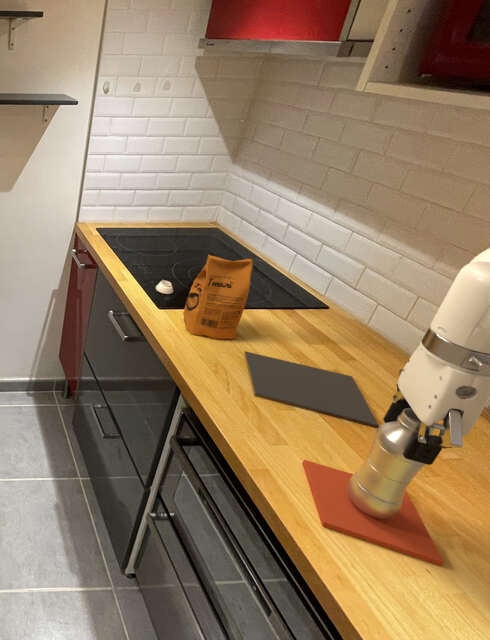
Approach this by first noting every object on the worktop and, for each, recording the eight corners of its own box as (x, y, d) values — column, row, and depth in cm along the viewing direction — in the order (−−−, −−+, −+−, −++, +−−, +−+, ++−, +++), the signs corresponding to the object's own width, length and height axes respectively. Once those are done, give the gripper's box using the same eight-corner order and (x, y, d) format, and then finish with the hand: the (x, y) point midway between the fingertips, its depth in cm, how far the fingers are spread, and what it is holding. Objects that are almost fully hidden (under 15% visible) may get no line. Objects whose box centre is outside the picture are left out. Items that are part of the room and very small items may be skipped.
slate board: (350, 378, 105) (352, 376, 105) (377, 428, 92) (379, 425, 91) (244, 353, 113) (245, 351, 113) (254, 395, 99) (255, 393, 99)
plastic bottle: (372, 528, 72) (429, 439, 63) (332, 490, 78) (379, 404, 69) (403, 520, 73) (463, 432, 64) (361, 483, 79) (411, 398, 70)
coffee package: (179, 315, 128) (197, 246, 119) (226, 322, 125) (249, 252, 116) (186, 335, 119) (206, 262, 110) (237, 343, 117) (262, 269, 108)
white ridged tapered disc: (160, 295, 138) (175, 294, 139) (162, 287, 137) (177, 286, 137) (152, 287, 143) (167, 286, 143) (154, 279, 141) (169, 278, 142)
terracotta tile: (403, 493, 78) (406, 489, 78) (441, 566, 67) (444, 562, 67) (302, 463, 84) (303, 459, 83) (321, 526, 73) (324, 522, 72)
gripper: (543, 399, 53) (469, 499, 60) (462, 322, 67) (410, 410, 75) (459, 380, 56) (398, 478, 63) (399, 310, 70) (355, 397, 78)
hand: (405, 441), depth 69 cm, fingers closed on plastic bottle, 6 cm apart
